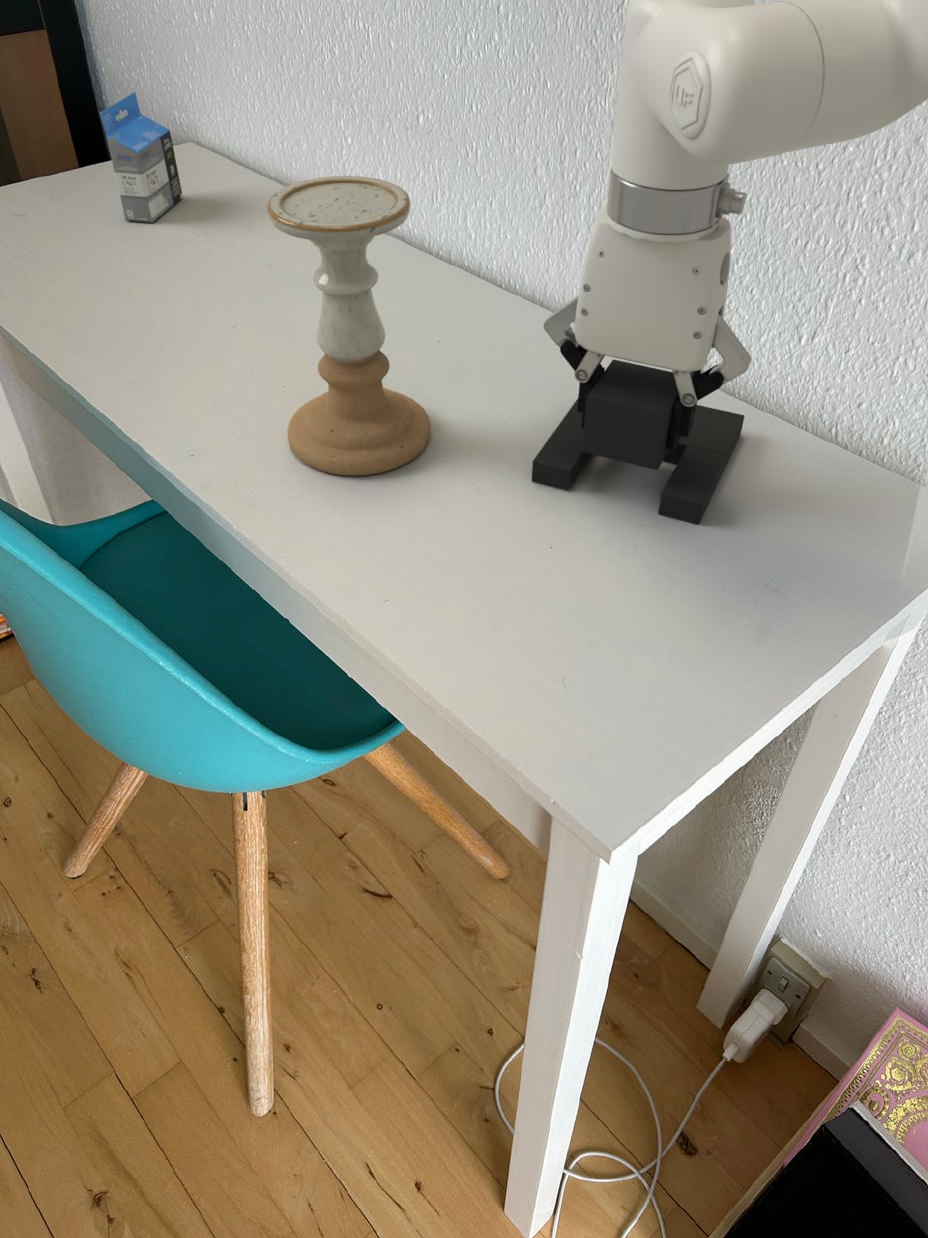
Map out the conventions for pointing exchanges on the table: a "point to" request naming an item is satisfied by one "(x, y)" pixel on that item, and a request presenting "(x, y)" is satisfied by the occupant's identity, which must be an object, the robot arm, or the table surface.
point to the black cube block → (630, 414)
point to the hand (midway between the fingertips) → (632, 429)
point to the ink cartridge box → (141, 162)
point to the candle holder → (350, 329)
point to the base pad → (694, 457)
